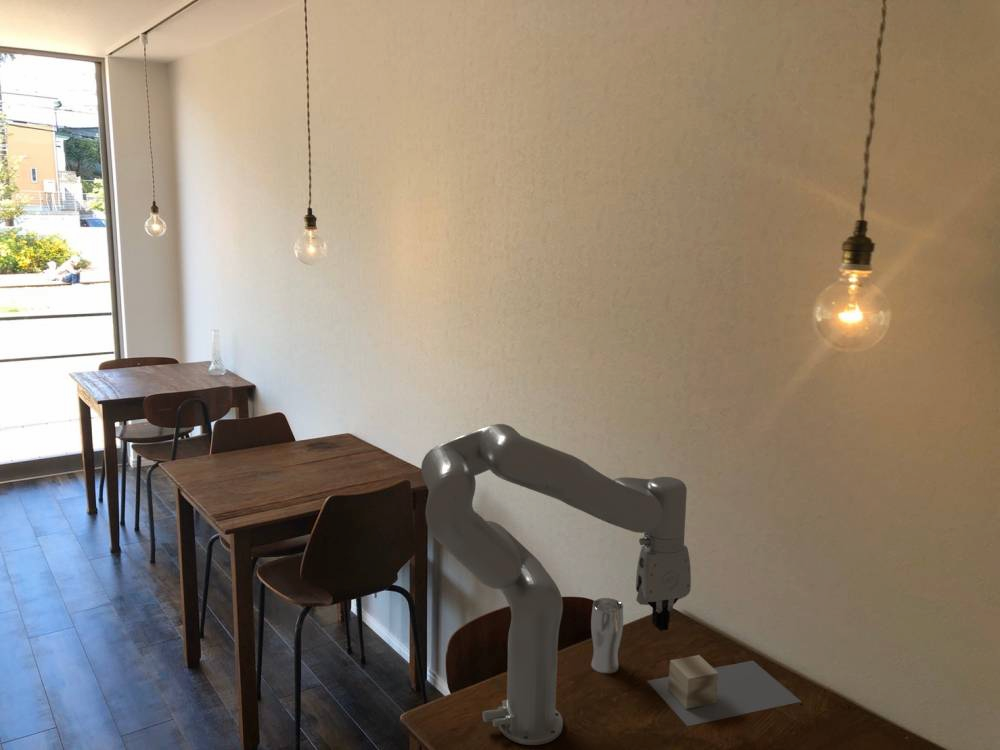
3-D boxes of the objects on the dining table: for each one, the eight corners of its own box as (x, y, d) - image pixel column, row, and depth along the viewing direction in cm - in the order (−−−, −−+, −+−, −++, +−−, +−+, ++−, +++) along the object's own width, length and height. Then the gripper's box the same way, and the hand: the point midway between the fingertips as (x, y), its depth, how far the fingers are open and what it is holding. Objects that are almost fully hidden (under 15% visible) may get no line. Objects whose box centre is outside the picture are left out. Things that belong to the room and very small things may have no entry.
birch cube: (686, 710, 156) (688, 678, 155) (668, 690, 163) (670, 660, 161) (715, 704, 158) (718, 672, 157) (696, 684, 165) (699, 654, 163)
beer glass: (627, 670, 171) (630, 607, 168) (603, 680, 167) (606, 615, 164) (606, 655, 176) (609, 594, 173) (582, 664, 172) (585, 602, 170)
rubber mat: (687, 728, 151) (687, 726, 151) (646, 682, 166) (646, 680, 166) (801, 703, 160) (801, 701, 160) (752, 662, 175) (753, 660, 175)
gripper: (639, 553, 145) (636, 643, 149) (708, 543, 150) (703, 630, 153) (620, 538, 152) (618, 624, 156) (687, 529, 157) (682, 612, 160)
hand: (660, 627), depth 154 cm, fingers closed
